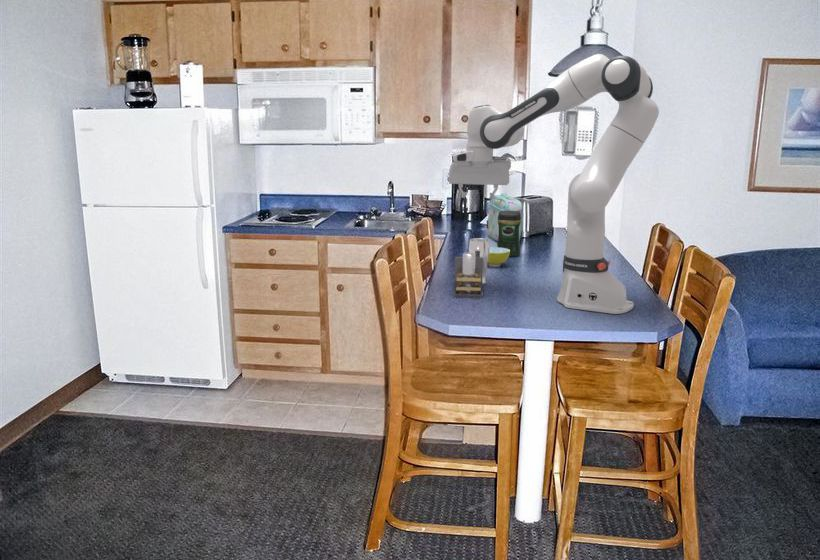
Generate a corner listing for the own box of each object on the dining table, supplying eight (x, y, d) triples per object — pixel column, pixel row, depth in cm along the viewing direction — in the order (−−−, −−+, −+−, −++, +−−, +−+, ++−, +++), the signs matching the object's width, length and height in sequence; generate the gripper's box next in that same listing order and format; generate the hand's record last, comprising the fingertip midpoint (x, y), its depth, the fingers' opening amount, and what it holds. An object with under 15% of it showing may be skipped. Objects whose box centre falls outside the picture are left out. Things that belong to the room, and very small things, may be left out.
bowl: (475, 266, 246) (475, 250, 245) (486, 261, 256) (486, 246, 255) (503, 270, 241) (504, 253, 240) (513, 264, 251) (514, 248, 250)
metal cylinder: (477, 290, 208) (478, 253, 205) (470, 292, 205) (471, 255, 202) (466, 288, 210) (467, 252, 207) (459, 290, 207) (460, 253, 204)
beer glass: (472, 286, 217) (473, 242, 214) (464, 281, 224) (466, 238, 220) (491, 285, 219) (493, 241, 215) (483, 280, 226) (485, 237, 222)
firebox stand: (482, 297, 203) (483, 263, 200) (453, 296, 204) (454, 262, 201) (481, 290, 212) (483, 257, 209) (454, 289, 212) (455, 256, 210)
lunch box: (483, 235, 315) (485, 191, 310) (504, 235, 317) (506, 191, 312) (501, 245, 289) (503, 197, 284) (523, 245, 291) (525, 197, 286)
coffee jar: (520, 254, 271) (522, 209, 267) (518, 257, 264) (521, 212, 259) (497, 252, 273) (499, 208, 269) (494, 256, 266) (496, 211, 262)
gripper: (510, 156, 216) (508, 197, 219) (449, 154, 217) (447, 196, 221) (512, 157, 210) (509, 200, 213) (448, 155, 211) (447, 198, 215)
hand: (477, 198), depth 217 cm, fingers open, 8 cm apart
